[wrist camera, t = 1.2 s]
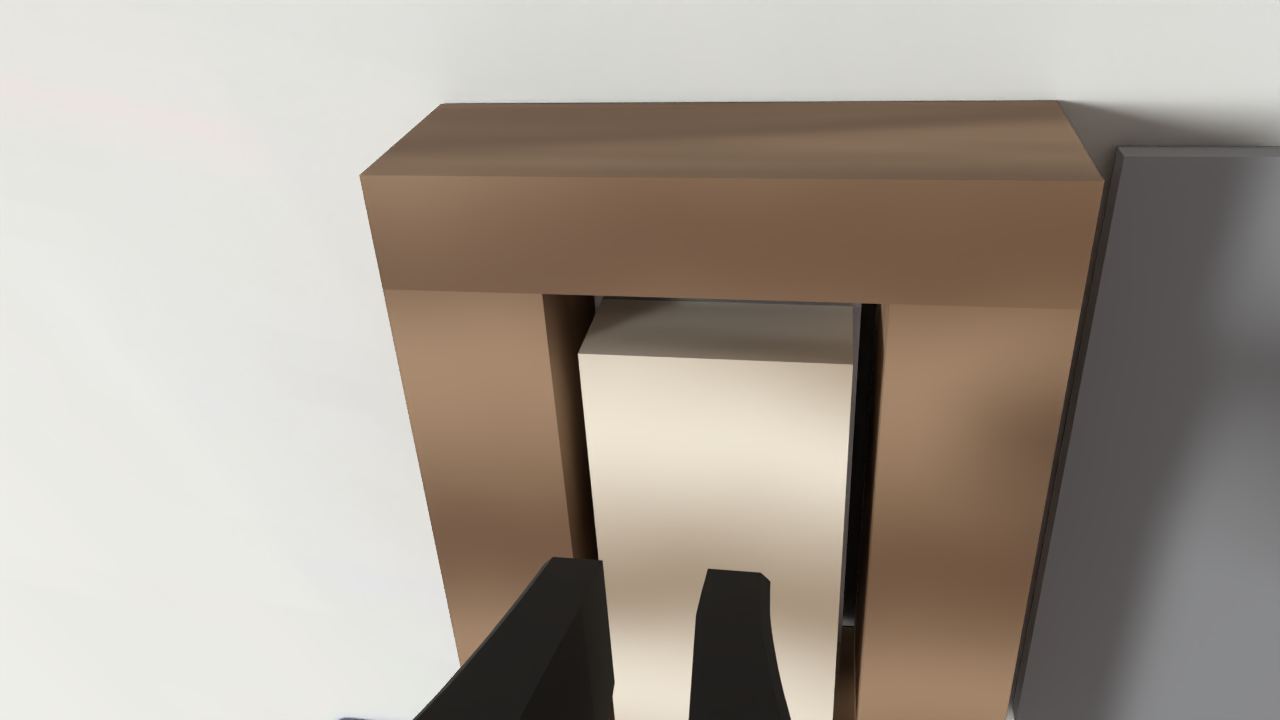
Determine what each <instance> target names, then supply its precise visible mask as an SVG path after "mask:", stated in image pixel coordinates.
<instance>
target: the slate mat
mask: <svg viewBox="0 0 1280 720" xmlns="http://www.w3.org/2000/svg"><path fill="white" fill-rule="evenodd" d="M1013 713H1014V719H1015V720H1280V147H1135V146H1118V147H1117V152H1116V157H1115V163H1114V168H1113V173H1112V179H1111V184H1110V189H1109V195H1108V200H1107V206H1106V211H1105V216H1104V222H1103V227H1102V232H1101V238H1100V243H1099V248H1098V254H1097V259H1096V264H1095V270H1094V275H1093V280H1092V286H1091V291H1090V296H1089V302H1088V307H1087V312H1086V318H1085V323H1084V329H1083V334H1082V339H1081V345H1080V350H1079V355H1078V361H1077V366H1076V371H1075V377H1074V382H1073V387H1072V393H1071V398H1070V403H1069V409H1068V414H1067V419H1066V425H1065V430H1064V435H1063V441H1062V446H1061V451H1060V457H1059V462H1058V468H1057V473H1056V478H1055V484H1054V489H1053V494H1052V500H1051V505H1050V510H1049V516H1048V521H1047V526H1046V532H1045V537H1044V542H1043V548H1042V553H1041V558H1040V564H1039V569H1038V574H1037V580H1036V585H1035V591H1034V596H1033V601H1032V607H1031V612H1030V617H1029V623H1028V628H1027V633H1026V639H1025V644H1024V649H1023V655H1022V660H1021V665H1020V671H1019V676H1018V681H1017V687H1016V692H1015V697H1014V703H1013Z"/></svg>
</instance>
